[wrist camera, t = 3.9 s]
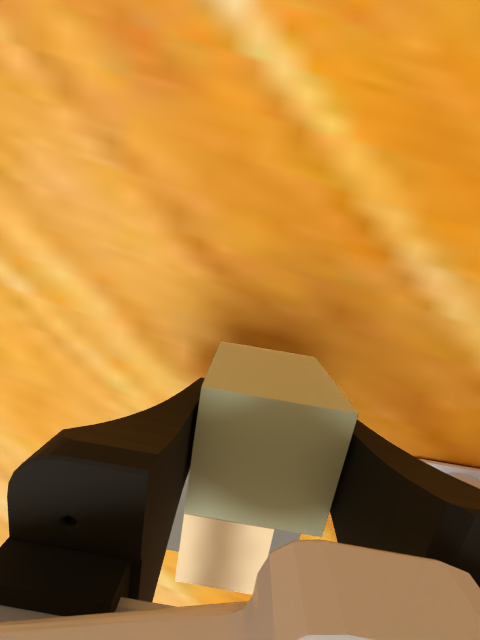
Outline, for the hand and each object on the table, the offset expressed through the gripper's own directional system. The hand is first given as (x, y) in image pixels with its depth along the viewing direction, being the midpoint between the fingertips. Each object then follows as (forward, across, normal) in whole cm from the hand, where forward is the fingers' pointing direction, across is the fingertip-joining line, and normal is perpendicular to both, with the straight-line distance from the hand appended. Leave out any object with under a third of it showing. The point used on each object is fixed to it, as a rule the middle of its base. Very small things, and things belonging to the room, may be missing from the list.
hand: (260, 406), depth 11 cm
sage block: (+1, 0, 0) cm, 1 cm away
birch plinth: (+8, 0, +16) cm, 18 cm away
